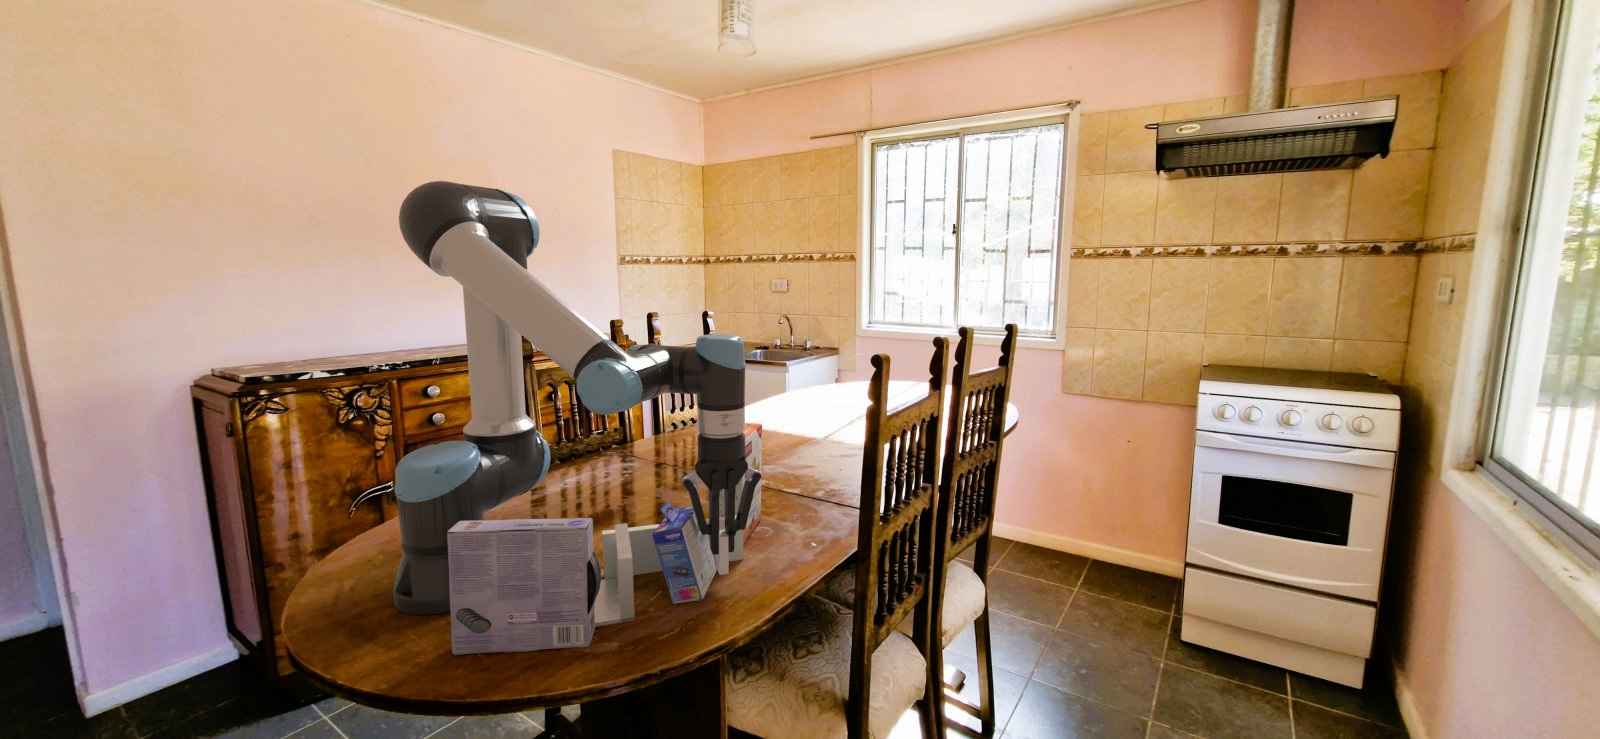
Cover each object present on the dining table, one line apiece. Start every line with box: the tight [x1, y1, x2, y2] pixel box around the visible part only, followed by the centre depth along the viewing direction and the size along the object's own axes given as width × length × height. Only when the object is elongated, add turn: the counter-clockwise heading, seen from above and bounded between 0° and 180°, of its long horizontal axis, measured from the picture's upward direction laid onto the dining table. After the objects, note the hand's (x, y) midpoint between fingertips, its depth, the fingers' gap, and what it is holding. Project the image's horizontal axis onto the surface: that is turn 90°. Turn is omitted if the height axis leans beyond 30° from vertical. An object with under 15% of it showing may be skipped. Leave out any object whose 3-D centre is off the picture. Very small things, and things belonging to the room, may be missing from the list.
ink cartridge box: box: [652, 501, 718, 605], centre depth 101 cm, size 10×6×14 cm, turn 174°
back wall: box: [601, 515, 744, 580], centre depth 109 cm, size 24×2×8 cm, turn 108°
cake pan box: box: [447, 517, 602, 656], centre depth 86 cm, size 19×5×18 cm, turn 98°
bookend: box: [594, 522, 636, 628], centre depth 97 cm, size 8×13×10 cm, turn 18°
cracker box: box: [719, 422, 763, 546], centre depth 123 cm, size 14×6×21 cm, turn 168°
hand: (722, 570), depth 103 cm, fingers closed
